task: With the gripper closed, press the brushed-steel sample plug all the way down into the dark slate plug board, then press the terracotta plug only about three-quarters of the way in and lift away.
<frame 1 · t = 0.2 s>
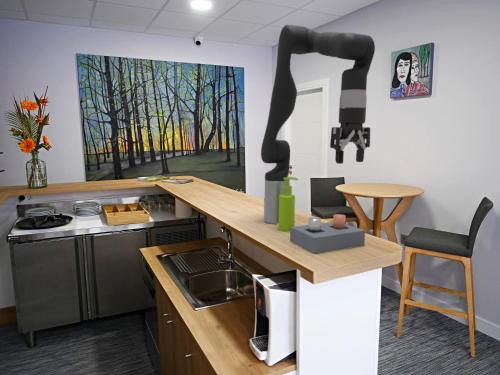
hand: (349, 162, 110), 28 cm above the counter, fingers open, 8 cm apart
terracotta plug: (339, 222, 126), point 6 cm above the counter, slide at 0.0 cm
plug board: (326, 243, 124), on the counter
steel plug: (314, 226, 121), point 7 cm above the counter, slide at 0.0 cm
soap dispenser: (287, 230, 141), on the counter
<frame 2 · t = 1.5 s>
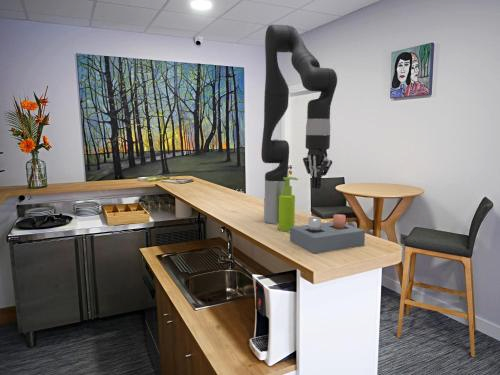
hand: (316, 188, 119), 19 cm above the counter, fingers closed
nothing on the counter moved.
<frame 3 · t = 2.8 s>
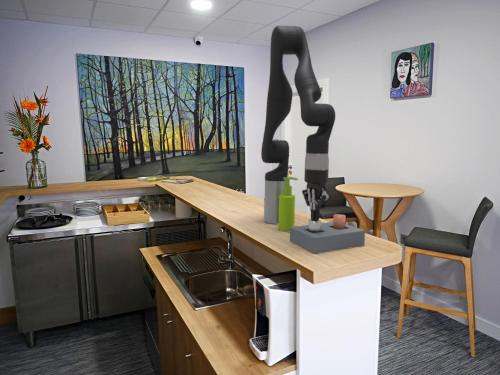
hand: (314, 220, 121), 8 cm above the counter, fingers closed
steel plug: (314, 228, 121), point 6 cm above the counter, slide at 0.7 cm, touching gripper
everything else where it was.
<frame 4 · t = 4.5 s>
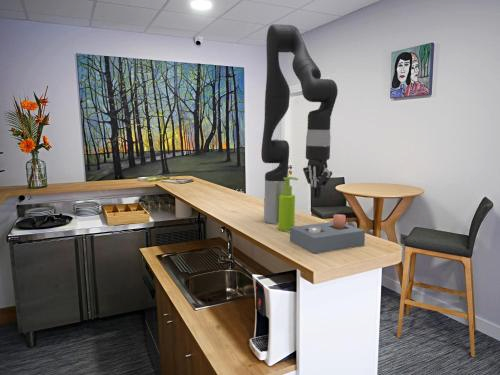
hand: (316, 198, 120), 16 cm above the counter, fingers closed
steel plug: (314, 235, 122), point 3 cm above the counter, slide at 3.1 cm
everything else where it was.
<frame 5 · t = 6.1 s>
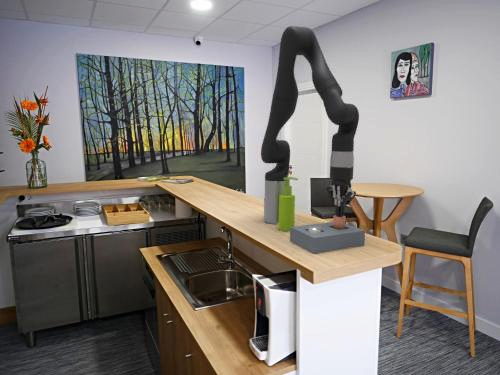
hand: (339, 216, 125), 9 cm above the counter, fingers closed
terracotta plug: (339, 223, 126), point 6 cm above the counter, slide at 0.3 cm, touching gripper
everything else where it was.
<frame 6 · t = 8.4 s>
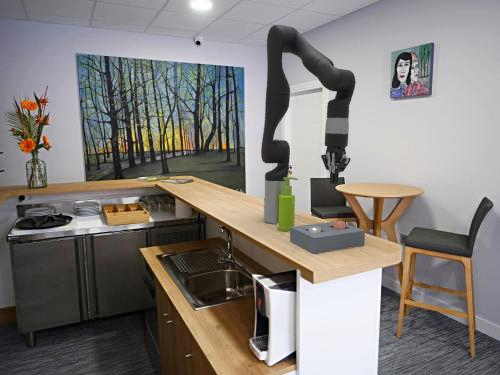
hand: (333, 183, 126), 20 cm above the counter, fingers closed
terracotta plug: (339, 229, 126), point 4 cm above the counter, slide at 2.2 cm
everything else where it was.
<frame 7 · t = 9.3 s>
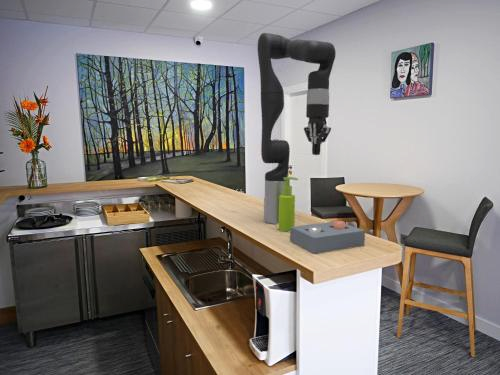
hand: (316, 154, 128), 29 cm above the counter, fingers closed
nothing on the counter moved.
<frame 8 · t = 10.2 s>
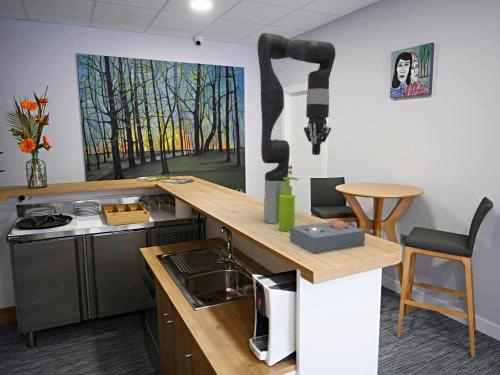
hand: (316, 154, 128), 29 cm above the counter, fingers closed
nothing on the counter moved.
at the end: steel plug slide at 3.1 cm; terracotta plug slide at 2.2 cm; soap dispenser moved 0.2 cm from its start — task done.
